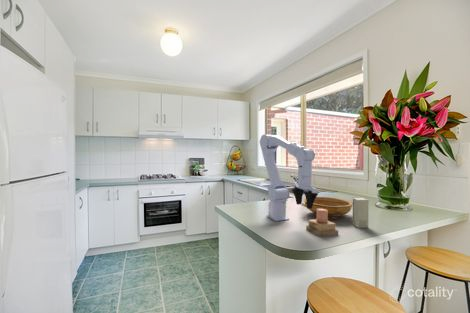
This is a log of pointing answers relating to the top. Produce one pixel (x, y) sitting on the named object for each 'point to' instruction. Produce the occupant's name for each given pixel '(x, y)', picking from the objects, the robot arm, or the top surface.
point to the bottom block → (322, 232)
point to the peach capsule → (322, 215)
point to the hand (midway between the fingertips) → (304, 206)
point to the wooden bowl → (331, 206)
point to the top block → (322, 225)
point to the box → (360, 212)
